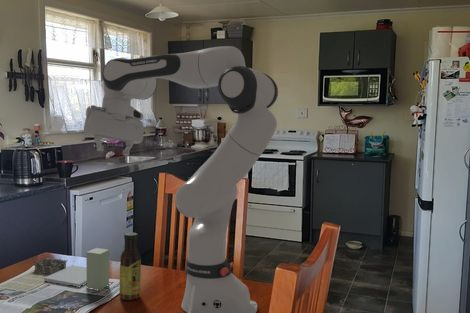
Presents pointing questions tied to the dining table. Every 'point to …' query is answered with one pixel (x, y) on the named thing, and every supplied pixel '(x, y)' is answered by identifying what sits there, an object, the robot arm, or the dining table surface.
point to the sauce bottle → (130, 268)
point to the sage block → (97, 268)
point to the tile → (69, 276)
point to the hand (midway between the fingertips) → (113, 153)
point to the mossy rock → (50, 265)
